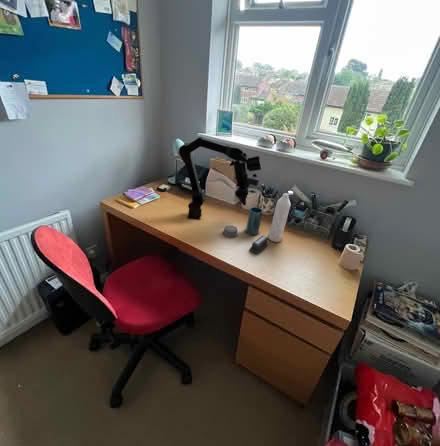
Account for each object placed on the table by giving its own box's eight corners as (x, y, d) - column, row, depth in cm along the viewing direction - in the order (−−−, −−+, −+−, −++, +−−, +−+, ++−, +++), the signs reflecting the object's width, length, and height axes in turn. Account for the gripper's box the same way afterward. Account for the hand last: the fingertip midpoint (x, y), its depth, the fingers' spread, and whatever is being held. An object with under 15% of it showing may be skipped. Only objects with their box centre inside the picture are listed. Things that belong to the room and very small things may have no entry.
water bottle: (276, 243, 122) (289, 197, 109) (265, 238, 125) (276, 192, 113) (285, 237, 128) (298, 193, 115) (274, 232, 131) (286, 189, 118)
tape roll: (223, 236, 123) (224, 231, 121) (223, 229, 128) (224, 224, 126) (236, 238, 123) (237, 232, 121) (236, 231, 128) (237, 225, 127)
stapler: (256, 254, 113) (258, 246, 110) (249, 250, 114) (251, 243, 112) (267, 245, 120) (269, 237, 118) (260, 242, 122) (262, 234, 120)
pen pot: (246, 234, 126) (250, 212, 120) (245, 227, 132) (249, 206, 125) (258, 235, 127) (263, 213, 120) (257, 229, 132) (262, 207, 126)
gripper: (256, 176, 111) (260, 207, 118) (257, 165, 127) (261, 193, 134) (232, 179, 114) (237, 209, 121) (236, 168, 130) (241, 195, 137)
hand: (245, 201), depth 128 cm, fingers open, 9 cm apart
